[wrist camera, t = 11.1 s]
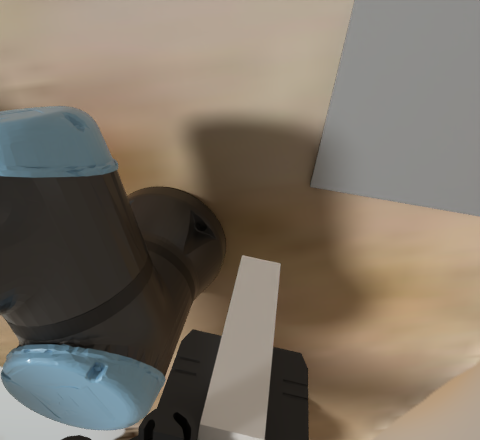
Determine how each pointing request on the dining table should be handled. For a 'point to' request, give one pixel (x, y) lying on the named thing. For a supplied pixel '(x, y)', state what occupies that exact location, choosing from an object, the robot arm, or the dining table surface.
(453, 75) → the base board
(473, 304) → the dining table surface
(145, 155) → the dining table surface
